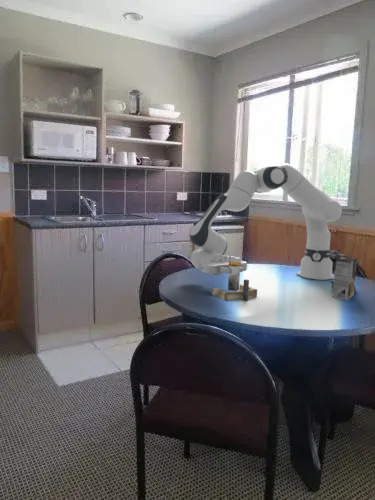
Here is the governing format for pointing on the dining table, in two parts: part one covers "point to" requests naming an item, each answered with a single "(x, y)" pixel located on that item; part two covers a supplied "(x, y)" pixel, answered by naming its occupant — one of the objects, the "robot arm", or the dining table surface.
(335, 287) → the coffee box
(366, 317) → the dining table surface
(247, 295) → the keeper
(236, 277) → the silver metal cylinder
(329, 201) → the robot arm
